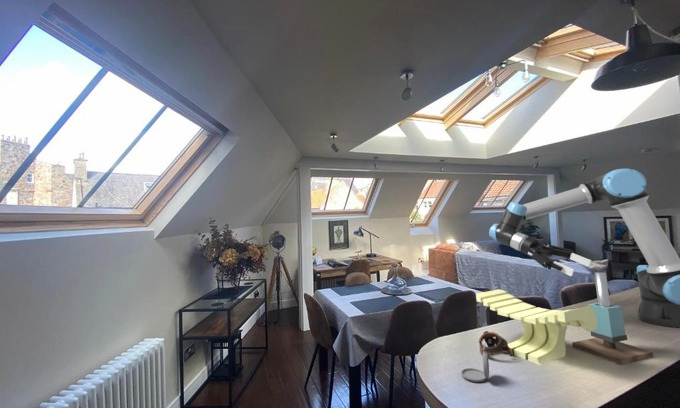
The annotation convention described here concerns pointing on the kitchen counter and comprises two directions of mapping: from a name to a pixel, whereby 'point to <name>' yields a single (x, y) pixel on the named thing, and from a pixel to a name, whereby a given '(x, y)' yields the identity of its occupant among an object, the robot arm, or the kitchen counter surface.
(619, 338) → the dark grey square slab
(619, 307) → the sleeve
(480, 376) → the grey round-based holder
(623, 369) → the kitchen counter surface
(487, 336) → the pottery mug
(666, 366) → the kitchen counter surface
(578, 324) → the slatted curved stool
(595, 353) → the pipe stand
